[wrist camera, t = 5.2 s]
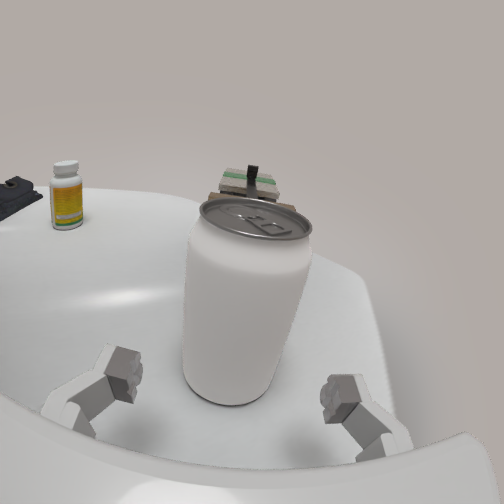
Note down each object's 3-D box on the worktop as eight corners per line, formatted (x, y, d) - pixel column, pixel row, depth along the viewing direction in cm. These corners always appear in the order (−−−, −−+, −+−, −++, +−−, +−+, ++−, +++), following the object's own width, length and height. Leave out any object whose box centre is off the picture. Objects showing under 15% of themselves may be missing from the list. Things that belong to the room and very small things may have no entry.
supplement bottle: (47, 224, 33) (43, 164, 29) (72, 215, 38) (71, 158, 34) (62, 234, 32) (58, 167, 28) (89, 223, 37) (89, 161, 32)
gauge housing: (265, 281, 31) (284, 193, 27) (203, 272, 30) (214, 182, 26) (261, 242, 41) (274, 175, 36) (213, 235, 40) (223, 166, 36)
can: (233, 331, 23) (258, 192, 18) (288, 380, 19) (344, 231, 14) (166, 359, 18) (167, 199, 13) (219, 424, 15) (252, 254, 9)
